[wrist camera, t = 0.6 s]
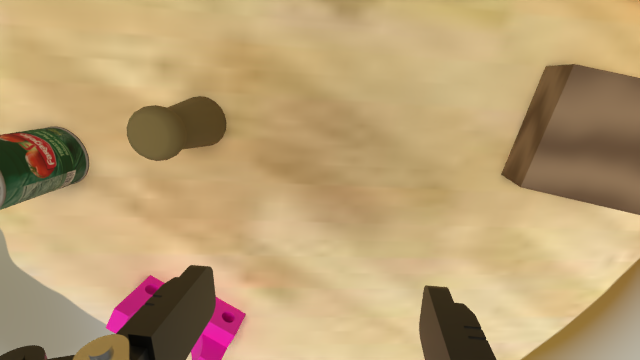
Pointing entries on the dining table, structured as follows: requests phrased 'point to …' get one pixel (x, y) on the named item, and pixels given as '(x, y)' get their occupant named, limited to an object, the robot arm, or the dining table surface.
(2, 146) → the canned tomato
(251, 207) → the dining table surface
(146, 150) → the cork
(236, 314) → the toy block
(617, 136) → the walnut base block
